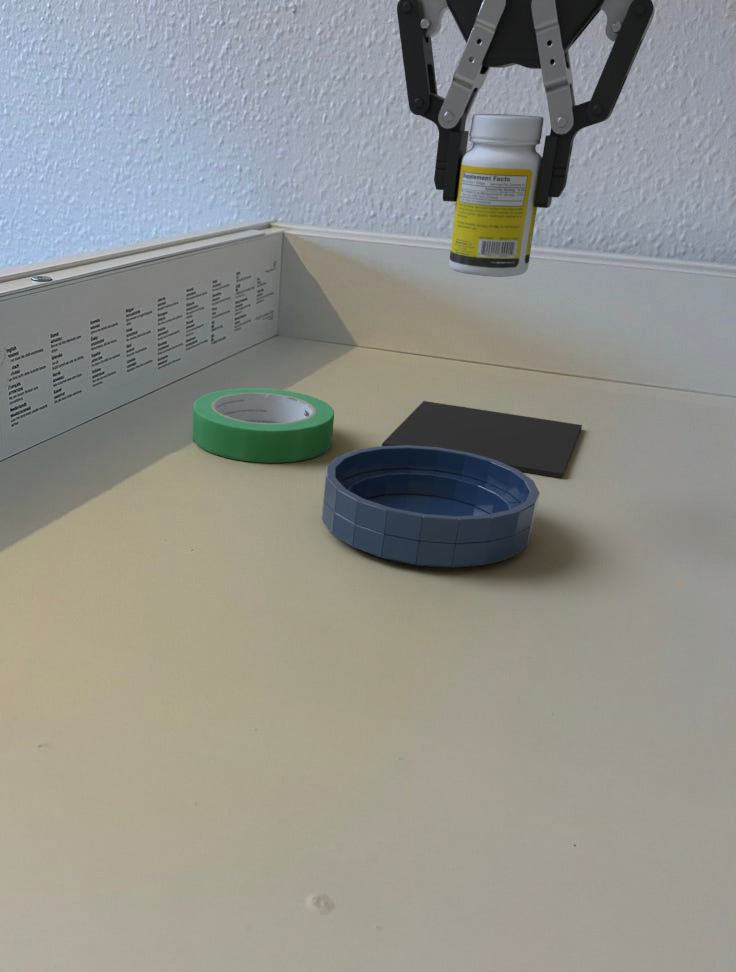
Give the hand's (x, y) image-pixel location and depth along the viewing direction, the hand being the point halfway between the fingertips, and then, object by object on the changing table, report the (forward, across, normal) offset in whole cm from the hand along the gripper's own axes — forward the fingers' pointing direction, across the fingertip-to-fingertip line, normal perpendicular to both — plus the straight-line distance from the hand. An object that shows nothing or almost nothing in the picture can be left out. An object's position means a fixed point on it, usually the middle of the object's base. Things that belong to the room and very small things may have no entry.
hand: (496, 201), depth 58 cm
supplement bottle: (+4, 0, 0) cm, 4 cm away
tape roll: (+19, +17, -7) cm, 26 cm away
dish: (+19, +1, +5) cm, 20 cm away
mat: (+19, +1, -17) cm, 26 cm away
